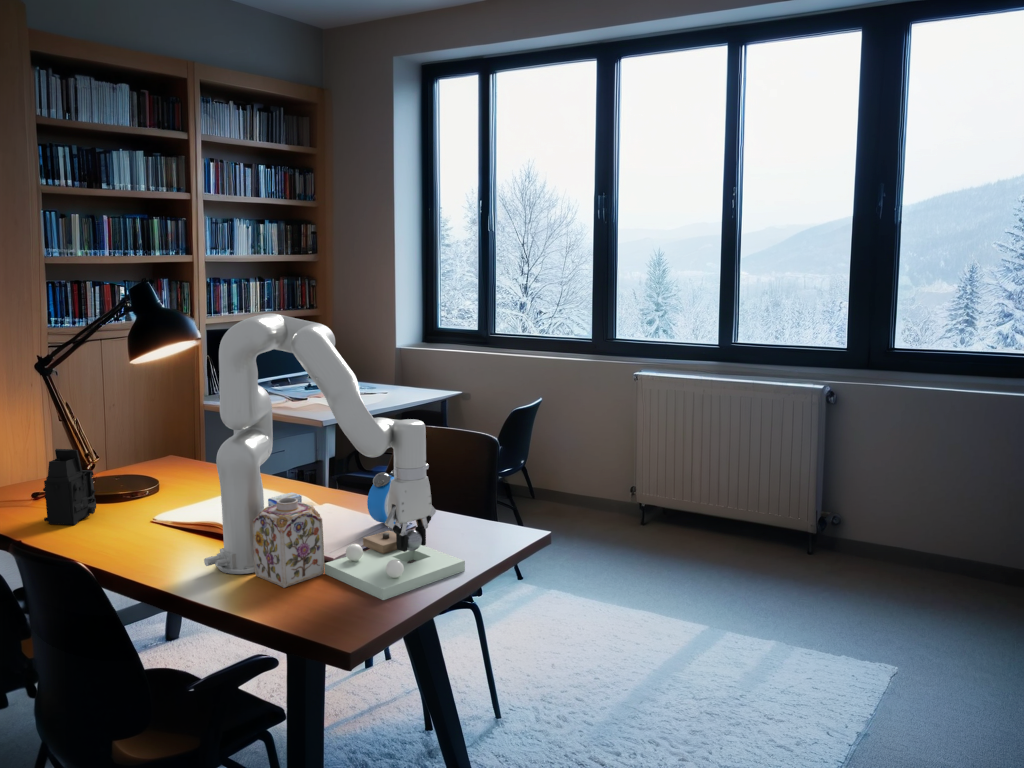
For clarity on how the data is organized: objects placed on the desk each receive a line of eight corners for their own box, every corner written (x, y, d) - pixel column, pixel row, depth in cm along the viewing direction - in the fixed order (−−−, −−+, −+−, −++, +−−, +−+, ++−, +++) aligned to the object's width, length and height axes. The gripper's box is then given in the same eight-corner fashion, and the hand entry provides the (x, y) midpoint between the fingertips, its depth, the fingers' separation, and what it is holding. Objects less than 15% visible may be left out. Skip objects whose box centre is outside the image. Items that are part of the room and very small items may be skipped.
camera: (105, 511, 246) (100, 443, 243) (76, 526, 233) (71, 454, 230) (72, 510, 247) (66, 442, 244) (42, 525, 234) (35, 453, 231)
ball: (410, 555, 200) (409, 534, 200) (396, 550, 204) (396, 530, 203) (426, 550, 204) (426, 529, 203) (412, 545, 207) (412, 525, 207)
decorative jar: (295, 562, 207) (293, 490, 204) (326, 574, 200) (323, 499, 197) (252, 576, 198) (249, 501, 195) (282, 589, 191) (279, 511, 188)
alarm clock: (382, 531, 229) (381, 477, 227) (366, 527, 233) (365, 473, 231) (416, 519, 240) (415, 467, 237) (400, 515, 243) (399, 464, 241)
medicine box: (293, 522, 237) (291, 491, 236) (303, 525, 235) (302, 494, 233) (268, 529, 231) (267, 498, 230) (278, 532, 229) (277, 501, 227)
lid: (383, 553, 205) (383, 541, 205) (363, 545, 210) (362, 533, 210) (409, 545, 211) (409, 533, 210) (389, 537, 216) (388, 526, 216)
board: (383, 600, 185) (383, 589, 184) (324, 573, 200) (324, 563, 199) (464, 570, 202) (464, 560, 202) (405, 548, 217) (405, 538, 217)
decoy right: (393, 582, 188) (393, 564, 188) (382, 577, 191) (381, 560, 190) (407, 577, 191) (407, 560, 191) (396, 572, 194) (396, 555, 193)
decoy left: (352, 564, 199) (352, 548, 198) (342, 560, 201) (342, 544, 201) (366, 560, 201) (366, 544, 201) (356, 556, 204) (356, 540, 204)
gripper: (427, 463, 210) (428, 535, 212) (370, 476, 197) (372, 552, 200) (448, 468, 204) (448, 542, 207) (391, 482, 192) (392, 560, 195)
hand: (411, 546), depth 204 cm, fingers closed on ball, 5 cm apart
